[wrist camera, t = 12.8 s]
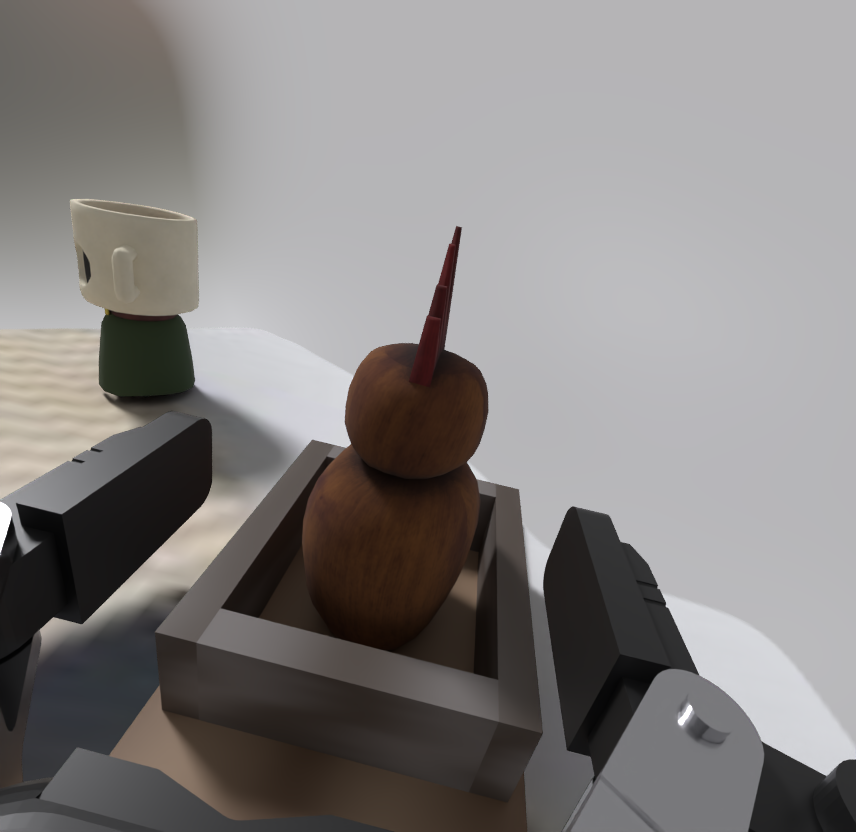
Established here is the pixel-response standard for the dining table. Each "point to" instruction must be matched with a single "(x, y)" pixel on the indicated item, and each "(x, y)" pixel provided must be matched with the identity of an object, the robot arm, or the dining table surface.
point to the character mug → (139, 292)
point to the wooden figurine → (399, 487)
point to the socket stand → (347, 685)
